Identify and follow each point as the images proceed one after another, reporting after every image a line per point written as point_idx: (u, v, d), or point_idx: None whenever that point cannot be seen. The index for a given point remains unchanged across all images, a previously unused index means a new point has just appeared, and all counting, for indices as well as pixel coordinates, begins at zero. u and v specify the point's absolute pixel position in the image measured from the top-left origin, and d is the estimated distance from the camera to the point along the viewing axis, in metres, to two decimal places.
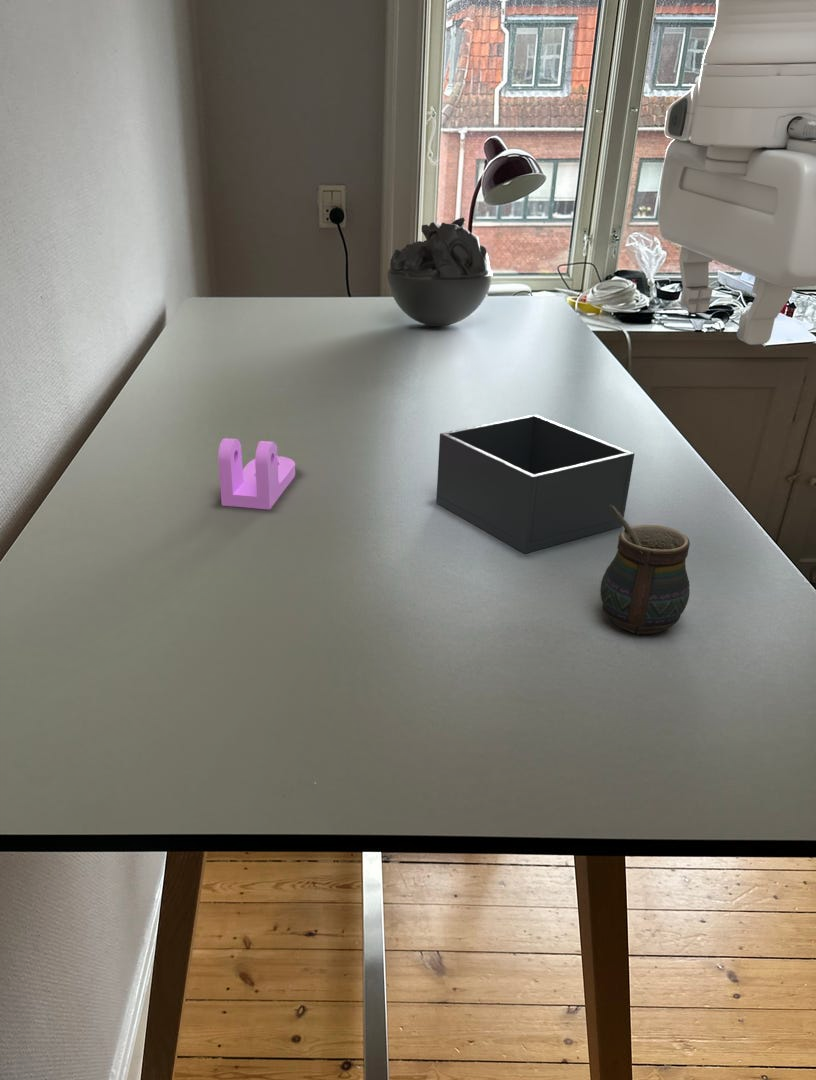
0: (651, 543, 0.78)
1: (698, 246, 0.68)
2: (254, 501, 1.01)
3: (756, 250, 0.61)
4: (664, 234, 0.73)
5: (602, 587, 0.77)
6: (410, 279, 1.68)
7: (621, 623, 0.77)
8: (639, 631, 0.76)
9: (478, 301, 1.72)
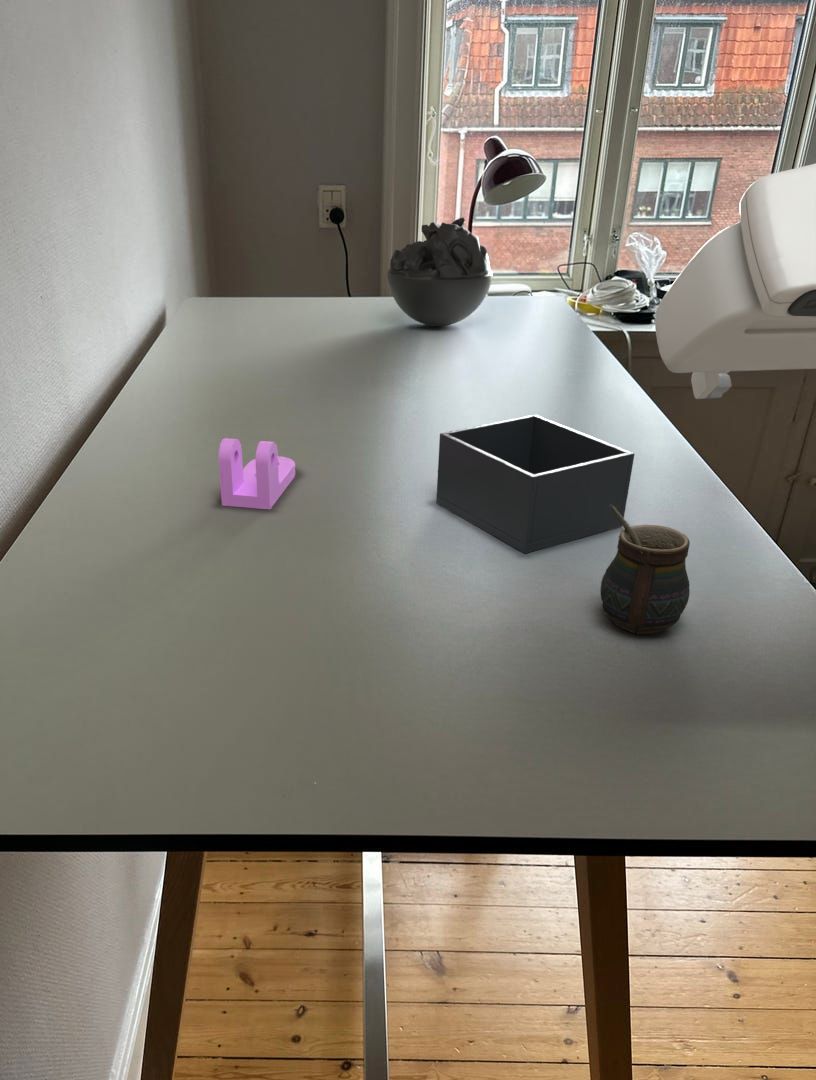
0: (651, 543, 0.78)
1: (796, 367, 0.51)
2: (255, 501, 1.01)
3: None
4: (692, 370, 0.50)
5: (602, 587, 0.77)
6: (410, 279, 1.68)
7: (621, 623, 0.77)
8: (639, 631, 0.76)
9: (478, 301, 1.72)
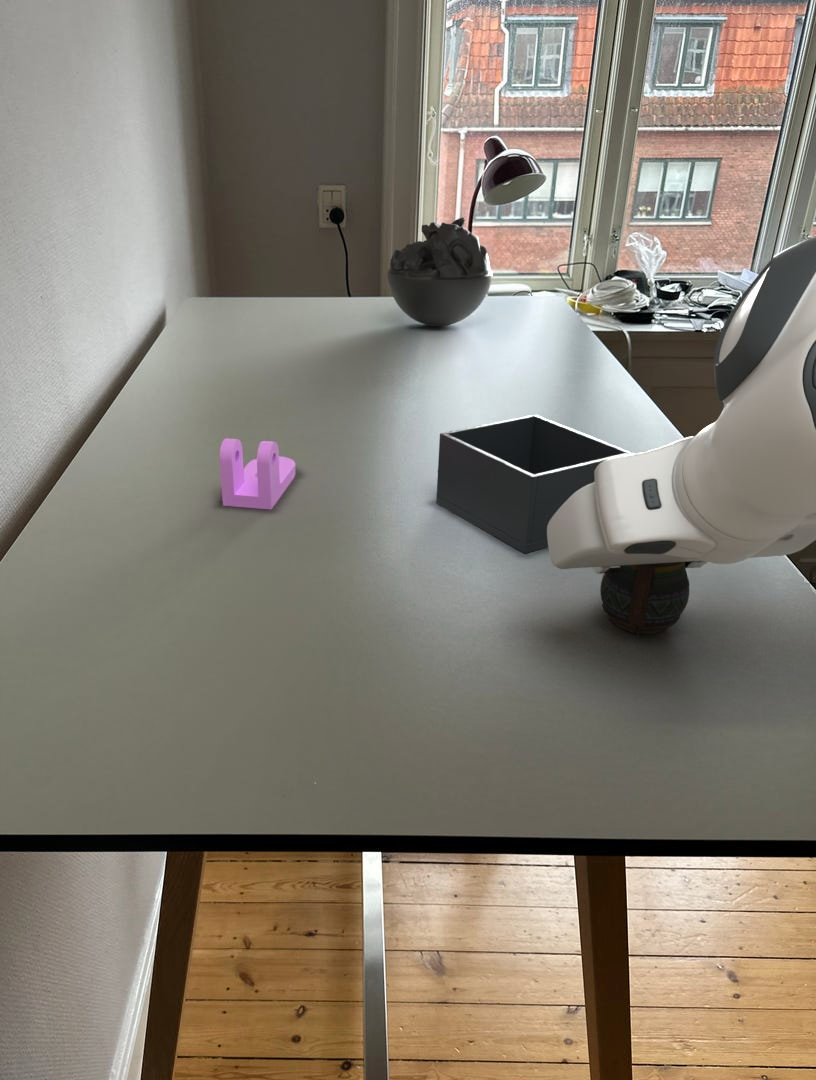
0: None
1: (648, 563, 0.71)
2: (256, 501, 1.01)
3: (755, 552, 0.71)
4: None
5: (602, 587, 0.77)
6: (410, 279, 1.68)
7: (621, 623, 0.77)
8: (639, 631, 0.76)
9: (478, 301, 1.72)
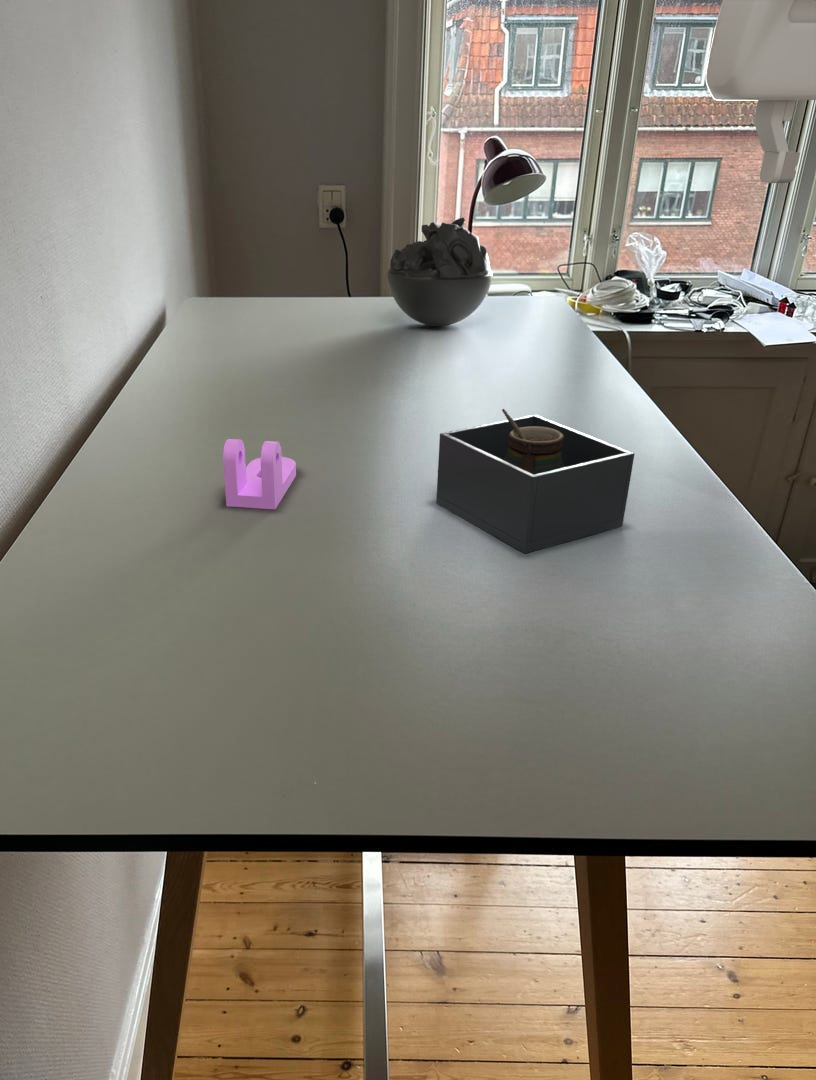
0: None
1: None
2: (260, 501, 1.01)
3: None
4: (756, 91, 0.55)
5: None
6: (410, 279, 1.68)
7: None
8: None
9: (478, 301, 1.72)
